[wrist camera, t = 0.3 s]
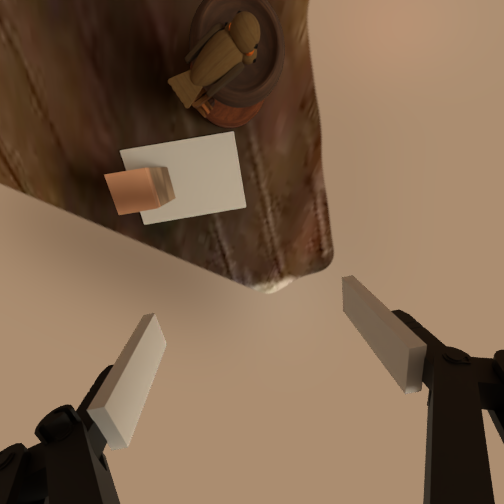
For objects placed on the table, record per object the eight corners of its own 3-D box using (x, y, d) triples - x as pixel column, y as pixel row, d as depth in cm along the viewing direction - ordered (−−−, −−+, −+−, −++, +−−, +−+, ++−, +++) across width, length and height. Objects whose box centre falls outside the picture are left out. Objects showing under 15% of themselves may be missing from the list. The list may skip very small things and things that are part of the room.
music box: (233, 154, 38) (231, 143, 19) (173, 106, 35) (103, 38, 16) (293, 64, 34) (364, -57, 16) (232, 3, 31) (229, -238, 13)
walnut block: (136, 172, 37) (104, 174, 28) (167, 167, 38) (144, 167, 28) (146, 203, 39) (118, 215, 30) (175, 198, 39) (157, 208, 30)
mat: (120, 150, 37) (119, 150, 36) (233, 131, 37) (233, 131, 36) (144, 224, 41) (144, 224, 40) (246, 206, 41) (246, 207, 41)
